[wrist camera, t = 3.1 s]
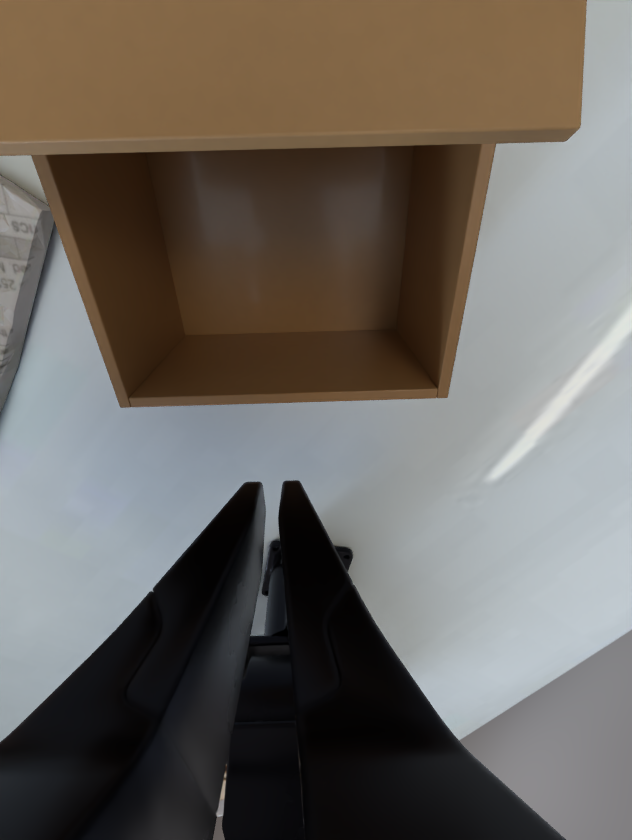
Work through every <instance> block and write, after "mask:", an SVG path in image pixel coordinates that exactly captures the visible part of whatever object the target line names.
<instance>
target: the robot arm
mask: <svg viewBox="0 0 632 840" xmlns="http://www.w3.org/2000/svg"><path fill="white" fill-rule="evenodd" d="M265 517H266V507H265V499H264V491H263V485H262V483H261V482H246V483H244V484H243V485H242V486H241V488H240V489H239V490H238V491H237V492H236V493H235V494H234V496H233V497H232V498H231V499H230V500H229V501H228V503H227V504H226V505H225V506H224V507H223V508H222V509H221V511H220V512H219V513H218V514H217V515H216V516H215V517H214V519H213V520H212V521H211V522H210V523H209V524H208V526H207V527H206V528H205V529H204V530H203V531H202V532H201V534H200V535H199V536H198V537H197V538H196V539H195V541H194V542H193V543H192V544H191V545H190V546H189V547H188V549H187V550H186V551H185V552H184V553H183V554H182V556H181V557H180V558H179V559H178V560H177V561H176V562H175V564H174V565H173V566H172V567H171V568H170V569H169V570H168V572H167V573H166V574H165V575H164V576H163V577H162V579H161V580H160V581H159V582H158V583H157V584H156V585H155V587H154V588H153V592H152V591H151V592H149V593H148V594H147V596H146V597H145V598H144V599H143V600H142V601H141V603H140V604H139V605H138V606H137V607H136V608H135V609H134V610H133V611H132V613H131V614H130V615H129V616H128V617H127V618H126V619H125V620H124V621H123V623H122V624H121V625H120V626H119V627H118V628H117V629H116V630H115V631H114V632H113V633H112V634H111V635H110V636H109V637H108V638H107V639H106V640H105V641H104V642H103V643H102V644H101V645H100V646H99V647H98V648H97V649H96V650H95V651H94V653H93V654H92V655H91V656H90V657H89V658H88V659H87V660H85V661H84V662H83V663H82V664H81V665H80V666H79V667H78V668H77V669H76V670H75V671H74V672H73V673H72V674H71V675H70V676H69V677H68V678H67V679H66V680H65V681H64V682H63V683H62V684H61V685H60V686H59V687H58V688H57V689H56V690H55V691H54V692H53V693H52V694H51V695H50V696H49V697H48V698H47V699H46V700H45V701H44V702H43V703H41V704H40V705H39V706H38V707H37V708H36V709H35V710H34V711H33V712H32V713H31V714H30V715H29V716H28V717H27V718H26V719H25V720H24V721H23V722H22V723H21V724H20V725H19V726H18V727H17V728H16V729H15V730H14V731H12V732H11V733H10V734H9V735H8V736H7V737H6V738H5V739H3V740H2V741H1V742H0V840H213V834H214V829H215V824H216V818H217V815H216V813H217V811H218V807H219V801H220V796H221V791H222V785H223V780H224V774H225V769H226V764H227V770H226V784H225V797H224V812H223V820H222V829H223V833H224V837H225V840H566V839H565V838H564V837H563V836H561V835H560V834H559V833H558V832H557V831H556V830H555V829H554V828H553V827H551V826H550V825H549V824H548V823H547V822H546V821H545V820H544V819H542V818H541V817H540V816H539V815H538V814H537V813H536V812H535V811H534V810H532V809H531V808H530V807H529V806H528V805H527V804H526V803H525V802H524V801H523V800H522V799H520V798H519V797H518V796H517V795H516V794H515V793H514V792H513V791H512V790H510V789H509V788H508V787H507V786H506V785H505V784H504V783H503V782H502V781H500V780H499V779H498V778H497V777H496V776H495V775H494V774H493V773H492V772H491V771H489V770H488V769H487V768H486V767H485V766H484V765H483V764H482V763H481V762H479V761H478V760H477V759H476V758H475V757H474V756H473V755H472V754H471V753H470V752H469V751H468V750H467V749H466V748H465V747H464V746H463V745H462V744H461V743H460V741H459V740H458V739H457V738H456V737H455V736H454V734H453V733H452V732H451V731H450V729H449V728H448V727H447V726H446V724H445V723H444V722H443V720H442V719H441V718H440V716H439V715H438V714H437V712H436V711H435V709H434V708H433V707H432V705H431V704H430V702H429V701H428V699H427V698H426V696H425V695H424V694H423V692H422V691H421V689H420V688H419V686H418V685H417V684H416V682H415V681H414V679H413V678H412V676H411V675H410V673H409V672H408V671H407V669H406V668H405V666H404V665H403V663H402V662H401V661H400V659H399V658H398V656H397V655H396V653H395V652H394V650H393V649H392V648H391V646H390V645H389V643H388V642H387V640H386V638H385V637H384V635H383V634H382V632H381V631H380V629H379V628H378V626H377V625H376V623H375V622H374V620H373V618H372V616H371V614H370V613H369V611H368V609H367V607H366V606H365V604H364V602H363V600H362V599H361V597H360V595H359V593H358V591H357V589H356V587H355V585H353V582H352V580H351V578H350V576H349V574H348V569H349V566H350V564H351V561H352V558H353V554H352V550H350V549H346V548H337V547H334V546H333V544H332V542H331V540H330V538H329V536H328V534H327V532H326V530H325V528H324V526H323V525H322V523H321V521H320V519H319V517H318V515H317V513H316V511H315V509H314V507H313V505H312V504H311V502H310V500H309V498H308V496H307V494H306V492H305V490H304V488H303V486H302V484H301V483H300V481H298V480H293V481H284V482H283V485H282V492H281V500H280V507H279V517H278V520H279V534H280V541H273V542H272V543H271V544H270V548H269V553H268V559H267V564H266V570H265V575H264V581H263V586H262V594H263V595H264V596H268V602H267V612H266V623H265V633H264V636H250V634H251V629H252V623H253V618H254V612H255V607H256V602H257V596H258V591H259V585H260V580H261V573H262V563H263V548H264V532H265ZM276 547H277V548H276Z"/></svg>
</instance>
